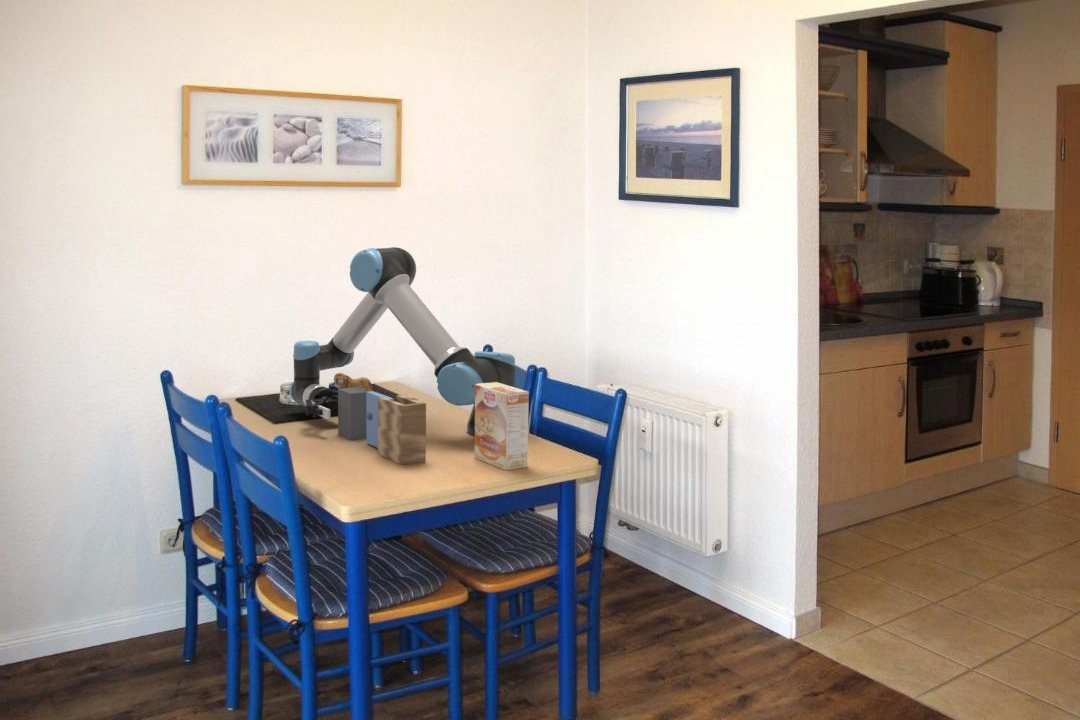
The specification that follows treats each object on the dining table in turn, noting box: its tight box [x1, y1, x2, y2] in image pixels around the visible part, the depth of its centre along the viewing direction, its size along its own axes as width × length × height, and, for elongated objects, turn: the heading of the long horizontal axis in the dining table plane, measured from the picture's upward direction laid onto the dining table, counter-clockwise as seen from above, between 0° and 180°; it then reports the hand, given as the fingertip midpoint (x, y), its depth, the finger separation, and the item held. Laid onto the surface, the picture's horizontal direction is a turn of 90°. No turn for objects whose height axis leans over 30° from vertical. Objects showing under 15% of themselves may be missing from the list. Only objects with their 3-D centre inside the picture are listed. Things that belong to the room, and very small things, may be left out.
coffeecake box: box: [473, 382, 530, 471], centre depth 274 cm, size 15×7×20 cm, turn 35°
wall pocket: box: [377, 394, 427, 466], centre depth 277 cm, size 13×7×15 cm, turn 36°
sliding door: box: [365, 390, 395, 449], centre depth 287 cm, size 12×3×14 cm, turn 36°
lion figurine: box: [333, 372, 374, 392], centre depth 354 cm, size 15×5×9 cm, turn 127°
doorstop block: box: [337, 387, 368, 441], centre depth 300 cm, size 8×6×13 cm
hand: (351, 412), depth 300 cm, fingers open, 13 cm apart
